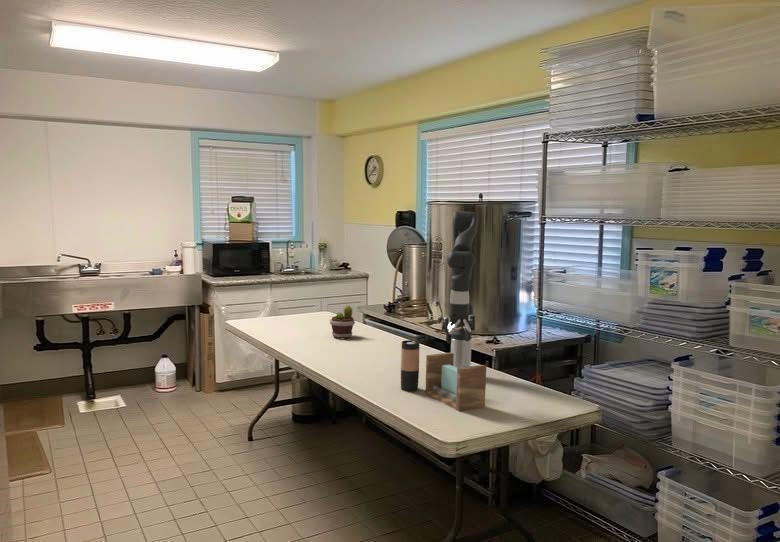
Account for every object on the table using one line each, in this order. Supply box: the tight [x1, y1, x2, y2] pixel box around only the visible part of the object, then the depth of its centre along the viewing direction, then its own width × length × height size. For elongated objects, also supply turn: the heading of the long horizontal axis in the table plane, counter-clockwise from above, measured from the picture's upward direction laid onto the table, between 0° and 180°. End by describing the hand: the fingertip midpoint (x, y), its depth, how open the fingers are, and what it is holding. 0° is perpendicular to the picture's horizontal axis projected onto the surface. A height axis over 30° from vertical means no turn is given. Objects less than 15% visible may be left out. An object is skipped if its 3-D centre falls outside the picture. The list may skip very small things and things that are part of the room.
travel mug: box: [400, 339, 420, 393], centre depth 246 cm, size 8×8×20 cm
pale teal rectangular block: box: [441, 365, 457, 395], centre depth 233 cm, size 14×4×11 cm, turn 28°
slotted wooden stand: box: [424, 352, 487, 412], centre depth 233 cm, size 24×12×16 cm, turn 28°
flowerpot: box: [329, 304, 356, 340], centre depth 345 cm, size 14×15×20 cm
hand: (458, 342), depth 234 cm, fingers open, 8 cm apart
